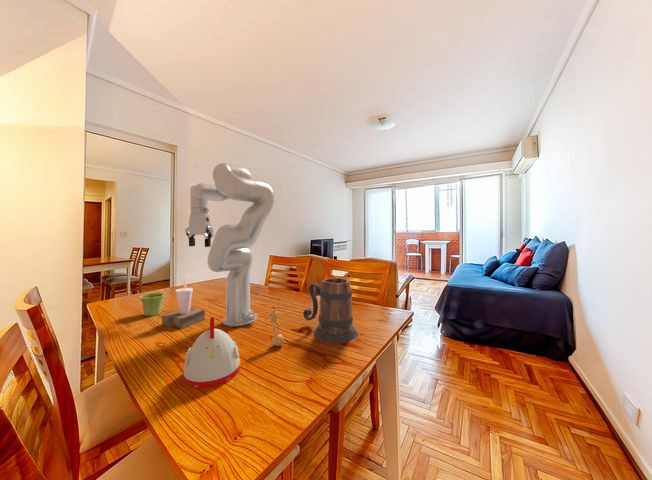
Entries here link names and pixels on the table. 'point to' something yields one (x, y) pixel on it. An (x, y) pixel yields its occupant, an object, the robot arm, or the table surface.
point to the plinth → (183, 318)
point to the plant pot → (152, 303)
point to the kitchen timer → (211, 359)
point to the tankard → (332, 311)
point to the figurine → (277, 338)
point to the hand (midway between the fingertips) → (199, 246)
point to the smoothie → (184, 299)
